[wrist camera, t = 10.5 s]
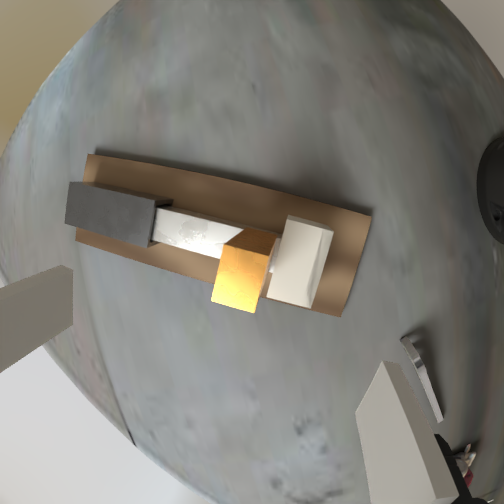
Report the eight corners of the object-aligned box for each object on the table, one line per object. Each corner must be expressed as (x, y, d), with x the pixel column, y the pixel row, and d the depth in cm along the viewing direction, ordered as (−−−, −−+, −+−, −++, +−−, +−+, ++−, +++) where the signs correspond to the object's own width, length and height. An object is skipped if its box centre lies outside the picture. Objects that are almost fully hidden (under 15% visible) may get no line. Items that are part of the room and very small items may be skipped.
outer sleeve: (93, 181, 35) (69, 181, 30) (173, 198, 34) (155, 200, 29) (88, 218, 36) (64, 223, 31) (165, 240, 35) (146, 248, 30)
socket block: (288, 214, 32) (286, 219, 27) (327, 225, 32) (333, 231, 27) (270, 280, 34) (266, 296, 29) (308, 290, 34) (310, 308, 28)
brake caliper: (410, 496, 38) (433, 513, 27) (416, 450, 43) (443, 459, 32) (456, 484, 37) (484, 496, 26) (462, 440, 41) (492, 444, 31)
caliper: (398, 338, 35) (413, 362, 29) (405, 333, 35) (421, 357, 29) (437, 421, 37) (449, 445, 31) (442, 417, 37) (455, 441, 30)
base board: (94, 154, 36) (87, 153, 34) (368, 216, 33) (372, 217, 31) (81, 238, 38) (75, 240, 37) (338, 312, 35) (340, 317, 34)
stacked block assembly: (126, 193, 34) (50, 198, 21) (311, 238, 32) (322, 270, 19) (121, 225, 35) (46, 244, 22) (301, 274, 33) (304, 326, 20)
